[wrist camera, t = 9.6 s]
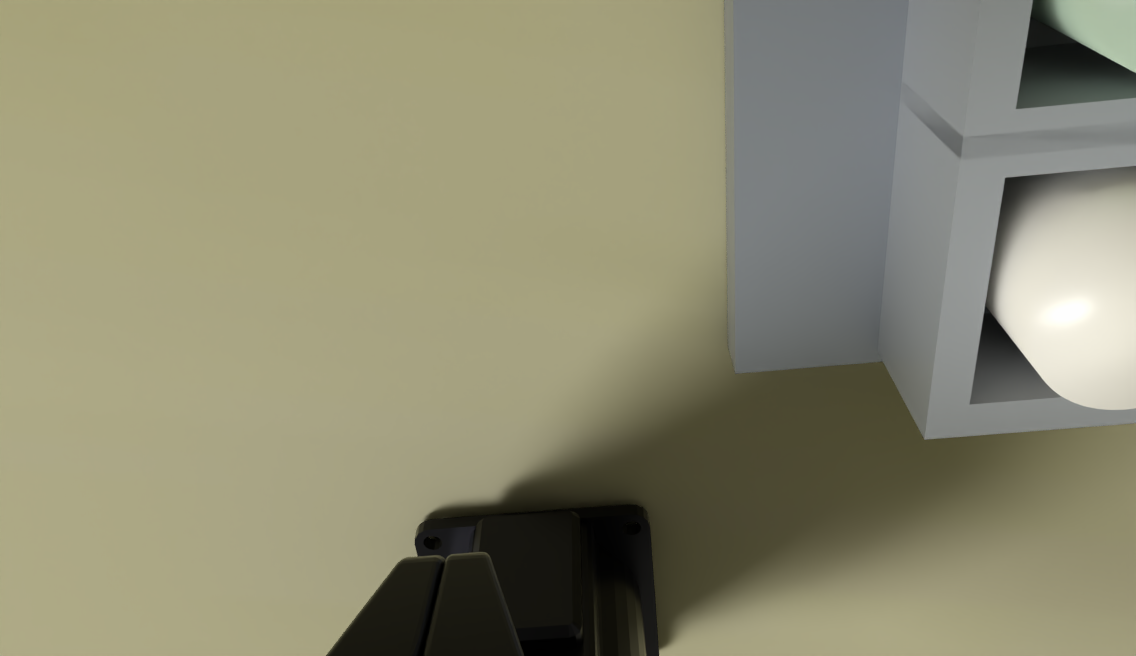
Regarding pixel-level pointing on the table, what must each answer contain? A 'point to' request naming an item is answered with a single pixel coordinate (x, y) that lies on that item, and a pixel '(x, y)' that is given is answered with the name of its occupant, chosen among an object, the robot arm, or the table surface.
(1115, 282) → the ivory button
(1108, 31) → the sage button
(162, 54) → the table surface
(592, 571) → the robot arm
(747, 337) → the grey compartment tray
